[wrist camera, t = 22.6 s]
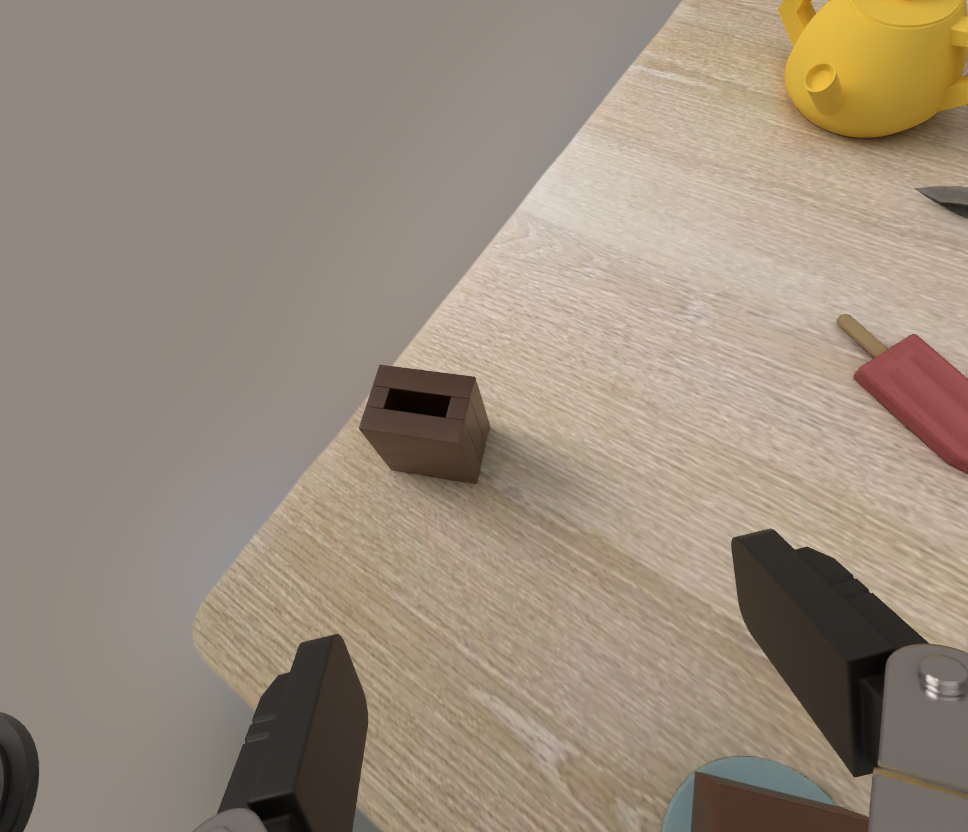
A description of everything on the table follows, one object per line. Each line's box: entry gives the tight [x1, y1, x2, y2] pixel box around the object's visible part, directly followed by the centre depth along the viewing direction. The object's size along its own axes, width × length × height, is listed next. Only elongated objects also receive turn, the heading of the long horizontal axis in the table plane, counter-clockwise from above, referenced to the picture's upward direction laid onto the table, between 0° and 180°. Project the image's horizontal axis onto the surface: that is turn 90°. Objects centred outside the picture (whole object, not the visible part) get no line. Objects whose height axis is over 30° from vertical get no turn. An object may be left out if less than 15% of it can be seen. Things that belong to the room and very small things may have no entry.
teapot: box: [778, 0, 968, 138], centre depth 53 cm, size 20×18×11 cm
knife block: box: [359, 365, 490, 484], centre depth 45 cm, size 5×7×8 cm
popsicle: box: [837, 314, 968, 473], centre depth 45 cm, size 5×2×15 cm
